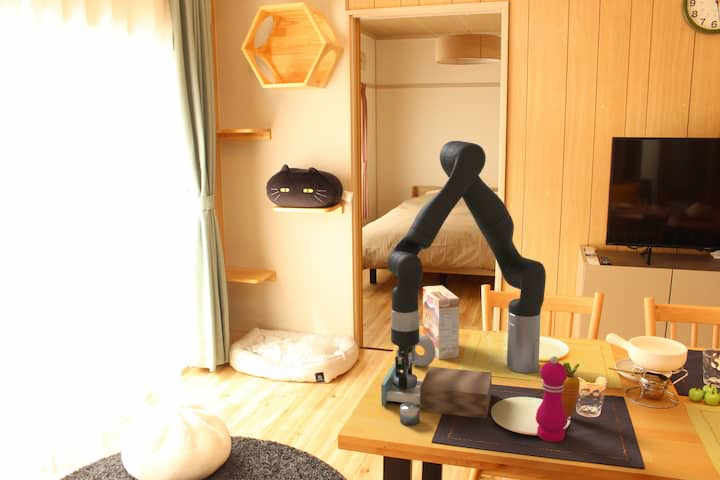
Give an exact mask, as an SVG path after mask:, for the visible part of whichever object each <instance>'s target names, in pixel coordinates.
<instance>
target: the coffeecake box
mask: <svg viewBox="0 0 720 480" xmlns="http://www.w3.org/2000/svg"><path fill="white" fill-rule="evenodd" d="M422 335H424V336H426V337H428V338H429V339H430V340H431V341H432V342H433V344H434V346H435V351H436V354H435V358H437V359H438V360H446V359H454V358H455V359H456V358H459V357H460V356H459V354H460V352H459V351H460V349H459V348H460V346H459V344H460V297H458V296H457V295H455V294H454V293H453V292H451V291H450V290H449V289H448V288H446V287H445V286H444V285H442V284H441V285H432V286H431V285H428V286H423V287H422Z"/></svg>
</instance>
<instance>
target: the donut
mask: <svg viewBox="0 0 720 480" xmlns="http://www.w3.org/2000/svg"><path fill="white" fill-rule="evenodd" d="M417 346H419V347H421V348H422V349H423V350H424V351H423V352H424V354H421V355H420V354H419V353H417V351H416V347H417ZM435 354H436V351H435V346H434V344H433V342H432V341H431V340H430V339H429V338H428V337H426V336H424V335H423V334H420V333H419V343H418V344H416V345H415V348H414V359H415V360H414V362H413V366H417V367H426V366H429V365H431V364H432V363H433V361H434V359H435V358H436V356H435Z"/></svg>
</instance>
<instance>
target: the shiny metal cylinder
mask: <svg viewBox="0 0 720 480" xmlns="http://www.w3.org/2000/svg"><path fill="white" fill-rule="evenodd" d="M399 422H400V424H401V425H403V426H406V427H415V426H418V425H419V424H420V404H416V403H412V402H402V403H401V404H400V406H399Z"/></svg>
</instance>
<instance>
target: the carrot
mask: <svg viewBox="0 0 720 480" xmlns="http://www.w3.org/2000/svg"><path fill="white" fill-rule="evenodd" d="M570 364H571V363H570V362H566V361H564V362H563V363H562V365H563V366H564V367H565V368H566V371H567V378H566V380H565V381H564V382H563V383H564V390H563V391H562V394H561V399H562V404H563V406H564V408H565V411H566V413H567V417H569V418H570V417H571V416H572V414H573V413H574V411H575V410H576V407H577V403H578V399H579V395H580V383H581V381H580V379H579V377H578V376H577V375H576V374H575V372H577V371H578V368H579V367H580V364H579V363H575V365H574V367H573V369H572V367H571V365H570Z"/></svg>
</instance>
